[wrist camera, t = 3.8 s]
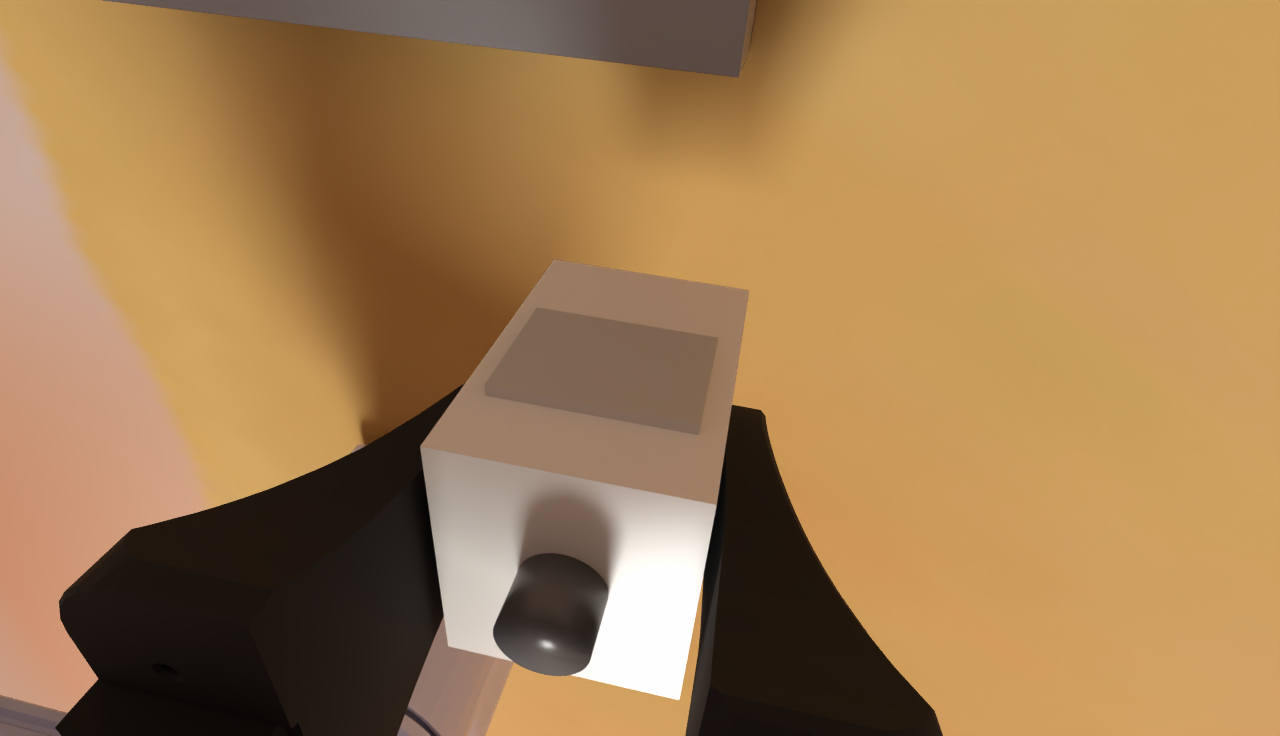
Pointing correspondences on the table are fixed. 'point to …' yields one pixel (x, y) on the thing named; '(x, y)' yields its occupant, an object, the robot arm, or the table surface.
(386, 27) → the socket plate
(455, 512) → the plug
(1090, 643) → the table surface
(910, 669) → the table surface
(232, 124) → the table surface
